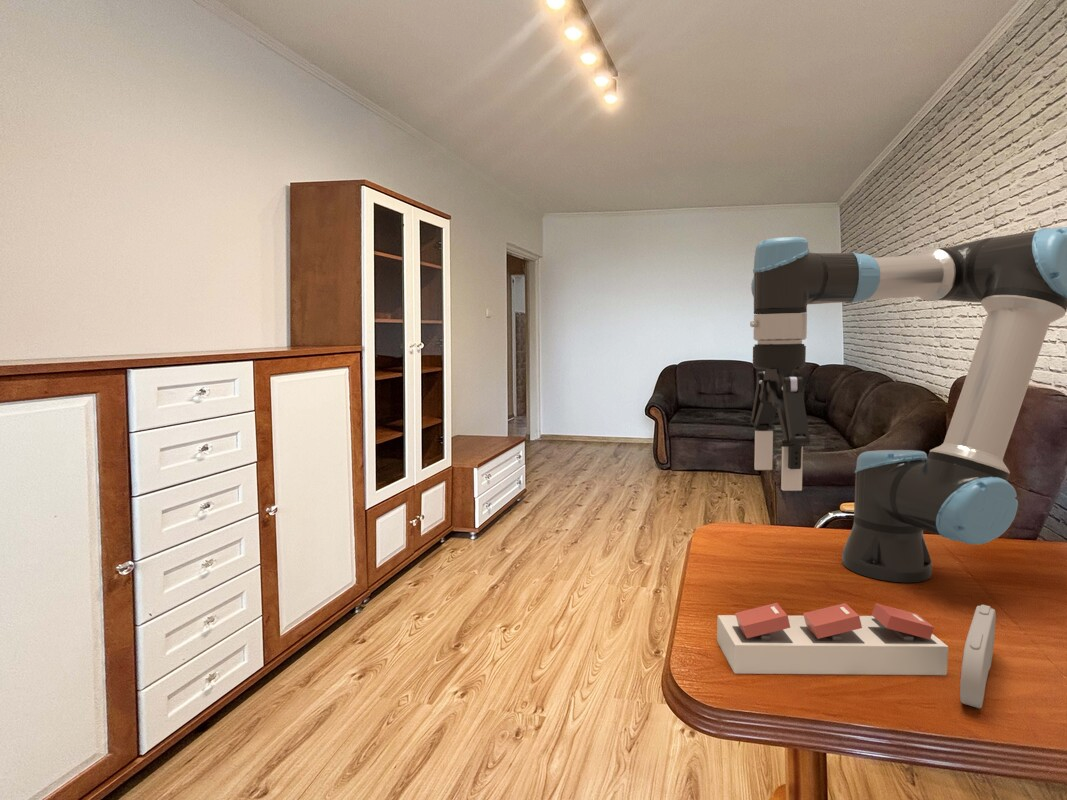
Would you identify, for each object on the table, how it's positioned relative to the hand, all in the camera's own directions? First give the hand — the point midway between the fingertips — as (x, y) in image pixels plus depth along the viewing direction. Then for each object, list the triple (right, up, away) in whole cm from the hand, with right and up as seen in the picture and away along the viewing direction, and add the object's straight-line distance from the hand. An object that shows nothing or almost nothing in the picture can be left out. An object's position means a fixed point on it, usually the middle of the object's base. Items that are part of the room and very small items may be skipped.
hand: (776, 479), depth 98 cm
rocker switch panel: (+3, -24, -9) cm, 26 cm away
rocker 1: (-6, -18, -11) cm, 22 cm away
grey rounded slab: (+20, -25, -16) cm, 36 cm away
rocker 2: (+3, -18, -11) cm, 22 cm away
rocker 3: (+13, -18, -12) cm, 25 cm away
